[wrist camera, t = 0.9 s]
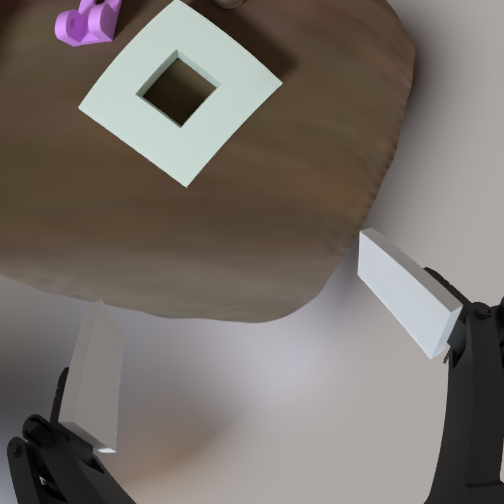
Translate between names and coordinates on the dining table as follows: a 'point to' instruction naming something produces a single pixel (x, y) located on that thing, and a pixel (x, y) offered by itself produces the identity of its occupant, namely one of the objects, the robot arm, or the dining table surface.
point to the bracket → (88, 23)
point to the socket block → (205, 116)
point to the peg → (228, 3)
